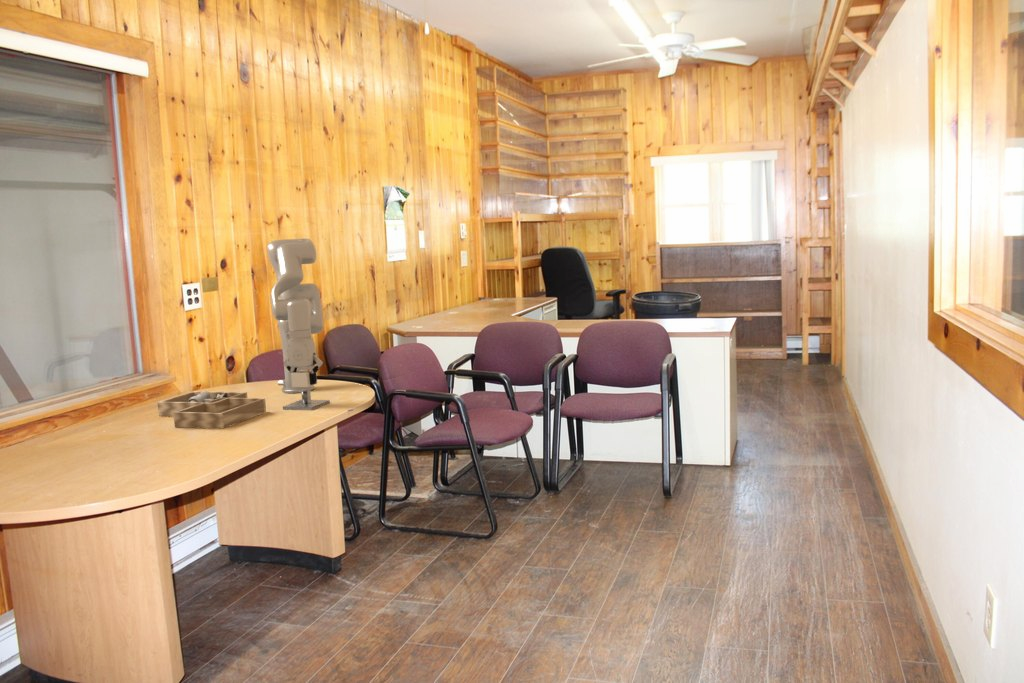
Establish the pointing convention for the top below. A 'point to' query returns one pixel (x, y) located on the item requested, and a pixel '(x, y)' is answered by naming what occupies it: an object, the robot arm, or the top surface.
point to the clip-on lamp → (205, 397)
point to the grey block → (301, 378)
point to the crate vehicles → (237, 413)
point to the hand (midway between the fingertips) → (304, 383)
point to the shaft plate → (304, 406)
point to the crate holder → (182, 403)
